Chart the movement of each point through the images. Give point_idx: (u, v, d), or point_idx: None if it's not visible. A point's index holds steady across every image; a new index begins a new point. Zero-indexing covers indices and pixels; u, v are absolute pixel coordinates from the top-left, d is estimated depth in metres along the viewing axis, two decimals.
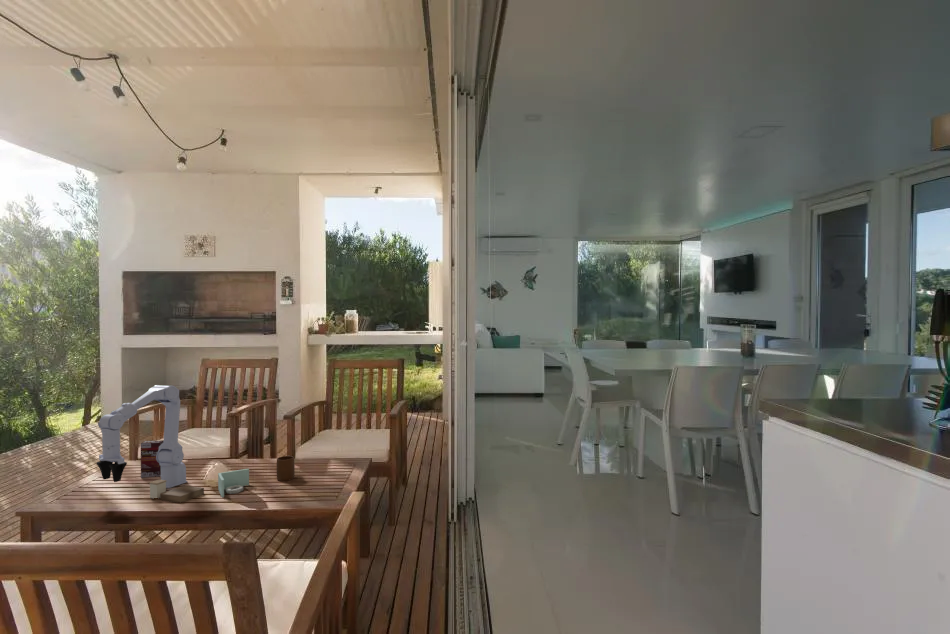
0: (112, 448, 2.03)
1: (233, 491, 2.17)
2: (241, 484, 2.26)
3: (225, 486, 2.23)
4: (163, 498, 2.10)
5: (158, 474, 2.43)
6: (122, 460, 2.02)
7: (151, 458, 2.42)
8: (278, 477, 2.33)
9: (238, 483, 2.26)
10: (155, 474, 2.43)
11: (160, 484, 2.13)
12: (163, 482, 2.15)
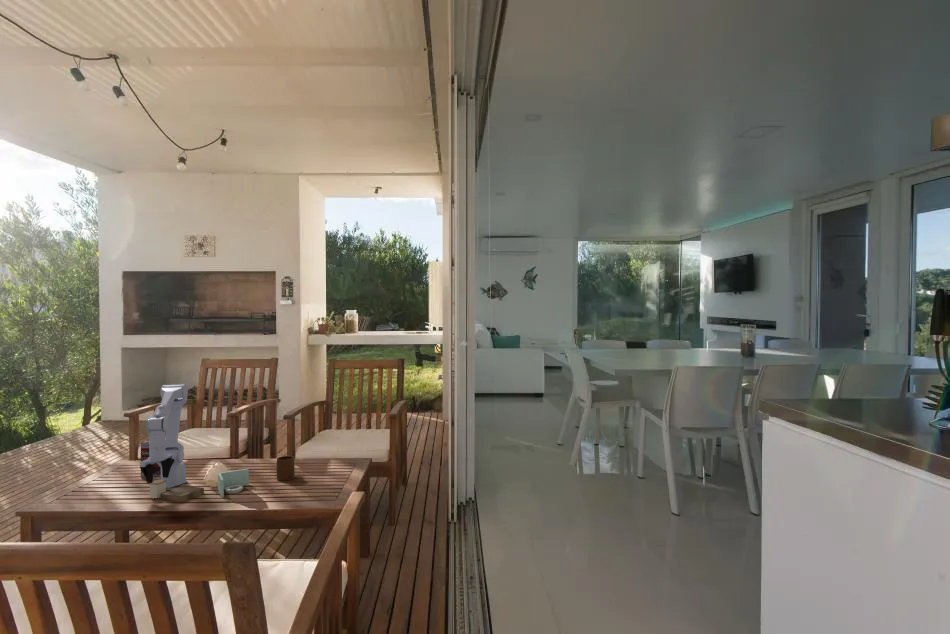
0: (150, 450, 2.12)
1: (233, 491, 2.17)
2: (241, 484, 2.27)
3: (225, 486, 2.23)
4: (163, 498, 2.10)
5: (158, 474, 2.43)
6: (142, 464, 2.07)
7: None
8: (278, 477, 2.33)
9: (238, 483, 2.26)
10: (155, 474, 2.43)
11: (160, 484, 2.13)
12: (163, 482, 2.15)
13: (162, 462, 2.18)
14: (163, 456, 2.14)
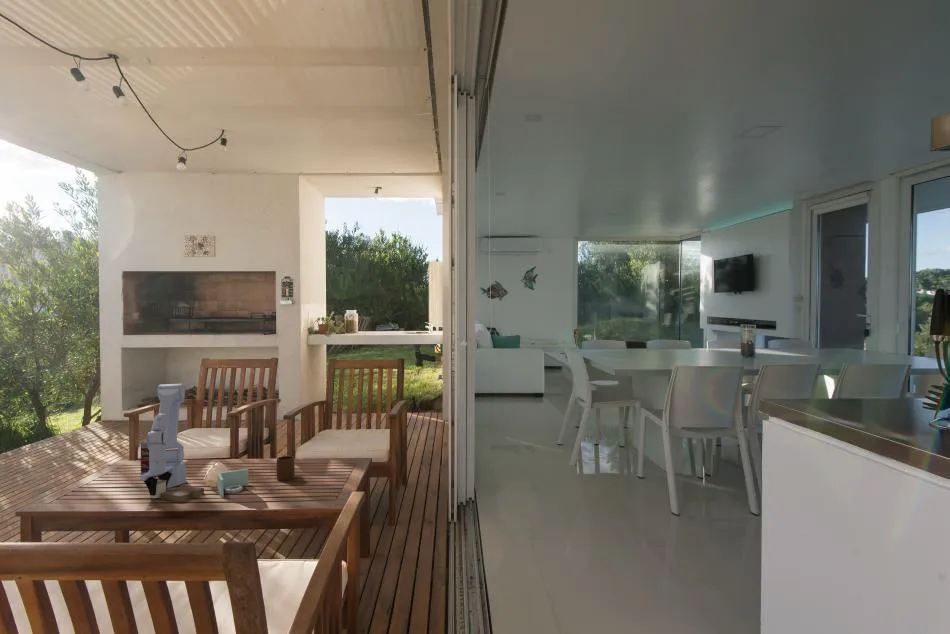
0: (150, 463, 2.12)
1: (232, 491, 2.17)
2: (240, 484, 2.27)
3: (224, 486, 2.23)
4: (163, 498, 2.10)
5: None
6: (142, 477, 2.07)
7: None
8: (278, 477, 2.33)
9: (237, 483, 2.26)
10: None
11: (160, 484, 2.13)
12: (163, 482, 2.15)
13: (159, 476, 2.17)
14: (163, 469, 2.14)
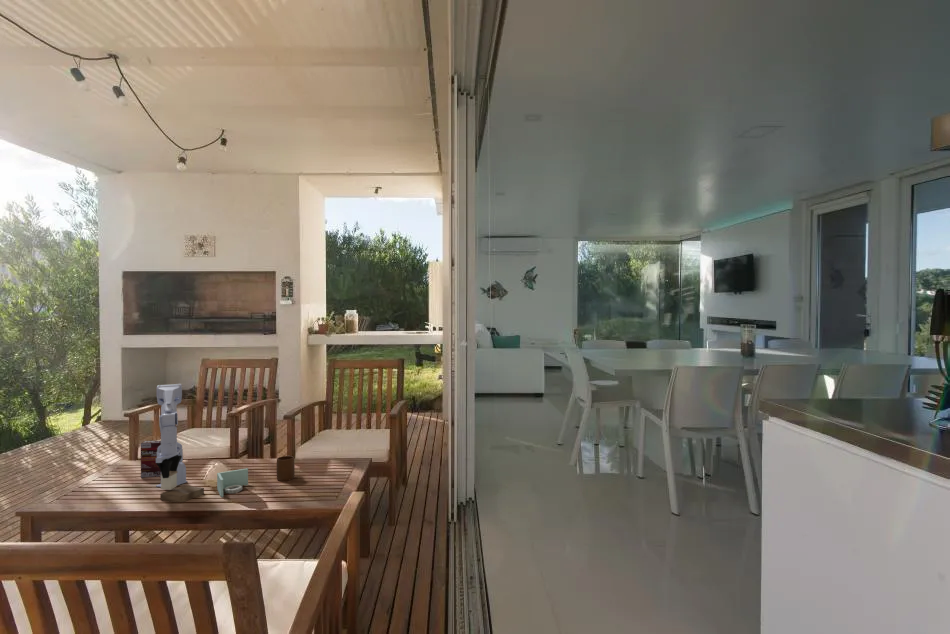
0: (162, 446, 2.12)
1: (232, 491, 2.17)
2: (240, 484, 2.27)
3: (224, 486, 2.23)
4: (163, 498, 2.10)
5: (158, 474, 2.43)
6: (158, 460, 2.07)
7: (151, 458, 2.42)
8: (278, 477, 2.33)
9: (237, 483, 2.26)
10: (155, 474, 2.43)
11: (173, 475, 2.14)
12: (175, 473, 2.15)
13: (169, 459, 2.16)
14: (176, 451, 2.14)
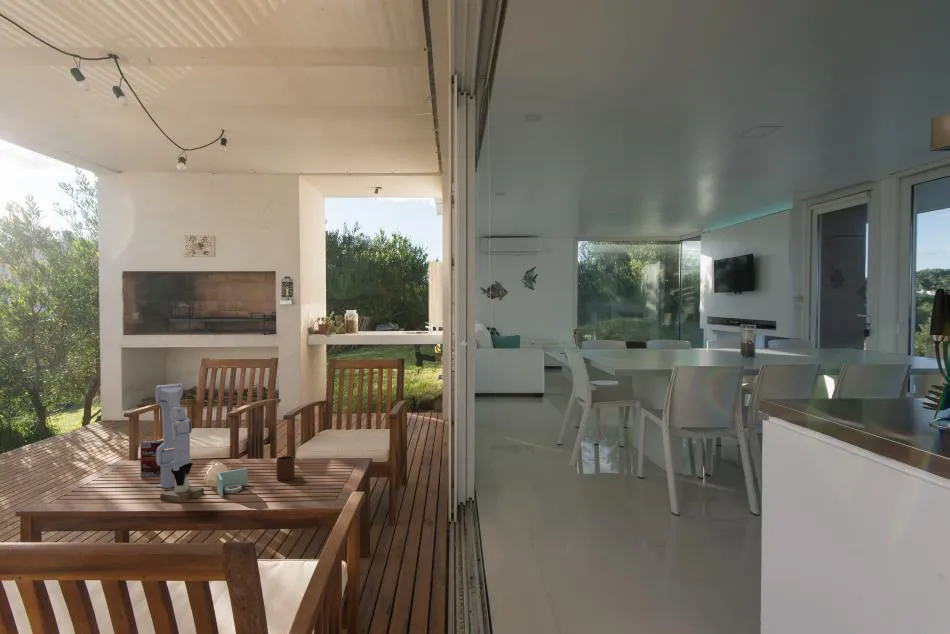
0: (177, 453, 2.11)
1: (232, 491, 2.18)
2: (240, 484, 2.27)
3: (224, 486, 2.24)
4: (163, 498, 2.10)
5: (158, 474, 2.43)
6: (176, 467, 2.07)
7: (151, 458, 2.42)
8: (278, 477, 2.33)
9: (237, 483, 2.26)
10: (155, 474, 2.43)
11: (186, 477, 2.14)
12: (187, 475, 2.15)
13: None
14: (189, 459, 2.15)
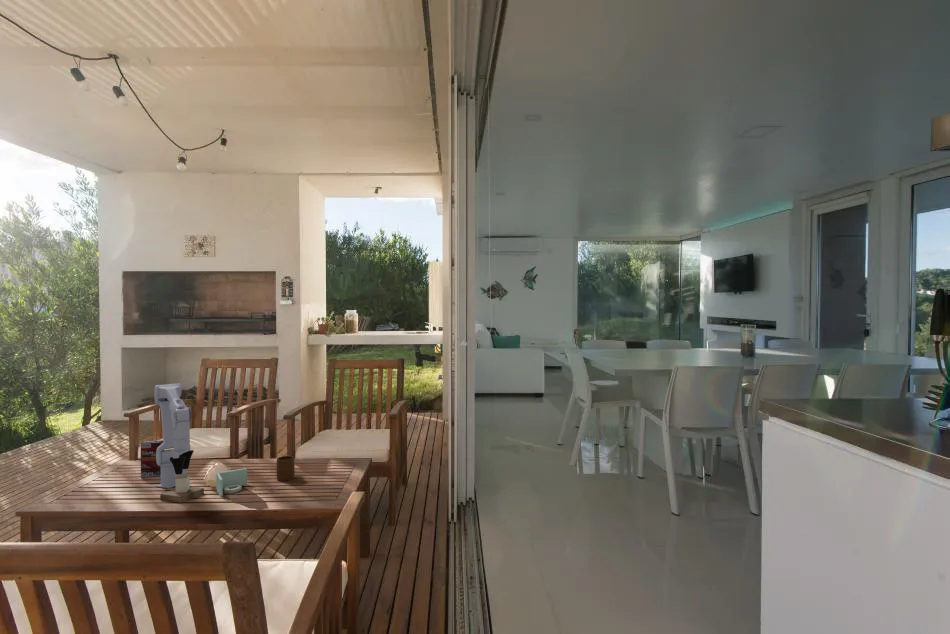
0: (177, 441, 2.11)
1: (231, 491, 2.18)
2: (239, 484, 2.27)
3: (223, 486, 2.24)
4: (163, 498, 2.10)
5: (158, 474, 2.43)
6: (176, 455, 2.07)
7: (151, 458, 2.42)
8: (278, 477, 2.33)
9: (236, 483, 2.26)
10: (155, 474, 2.43)
11: (187, 477, 2.14)
12: (188, 475, 2.15)
13: (181, 454, 2.17)
14: (189, 447, 2.15)
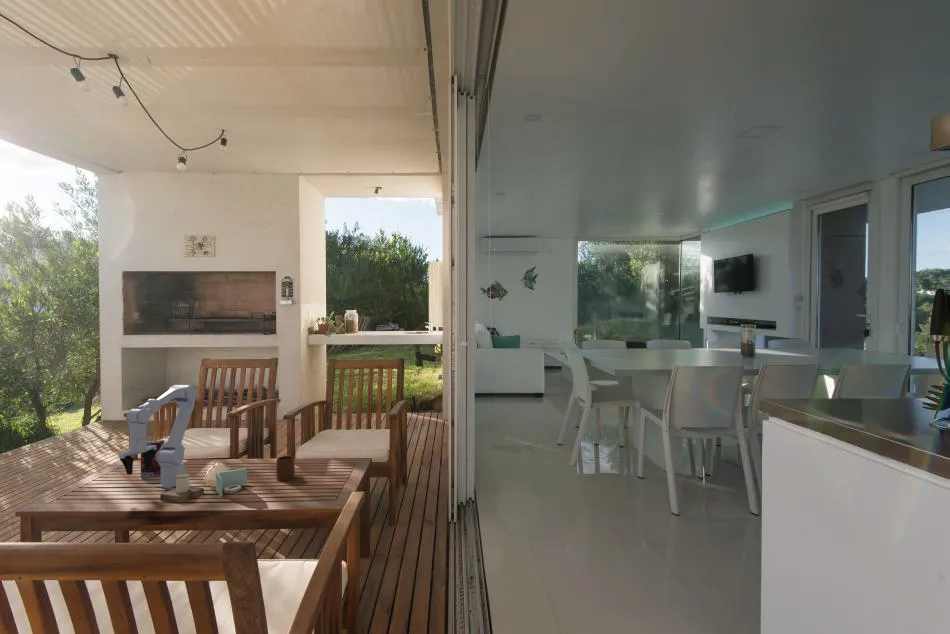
0: (130, 441, 2.12)
1: (231, 490, 2.18)
2: (239, 483, 2.27)
3: (223, 486, 2.24)
4: (163, 498, 2.10)
5: (158, 474, 2.43)
6: (121, 455, 2.07)
7: None
8: (278, 477, 2.33)
9: (236, 482, 2.27)
10: (155, 474, 2.43)
11: (187, 477, 2.14)
12: (188, 475, 2.15)
13: (144, 454, 2.18)
14: (143, 448, 2.13)
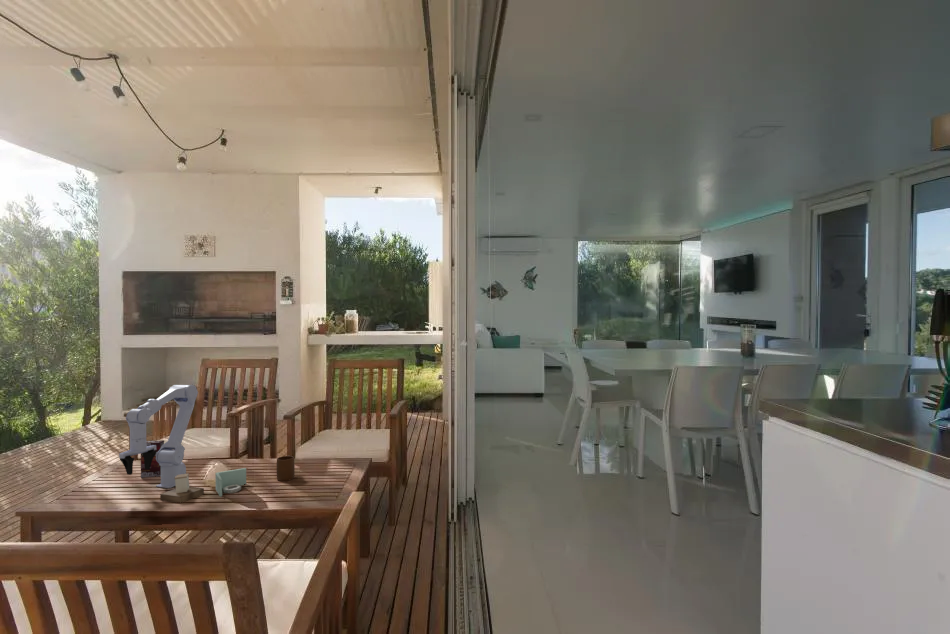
0: (130, 441, 2.12)
1: (231, 490, 2.18)
2: (238, 483, 2.27)
3: (222, 486, 2.24)
4: (163, 498, 2.10)
5: (158, 474, 2.43)
6: (121, 455, 2.07)
7: None
8: (278, 477, 2.33)
9: (235, 482, 2.27)
10: (155, 474, 2.43)
11: (187, 477, 2.14)
12: (187, 475, 2.15)
13: (144, 454, 2.18)
14: (143, 448, 2.13)
